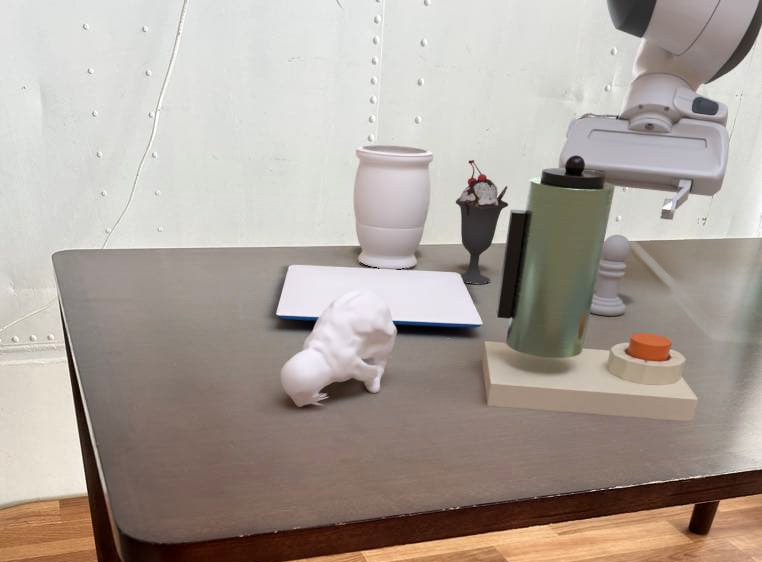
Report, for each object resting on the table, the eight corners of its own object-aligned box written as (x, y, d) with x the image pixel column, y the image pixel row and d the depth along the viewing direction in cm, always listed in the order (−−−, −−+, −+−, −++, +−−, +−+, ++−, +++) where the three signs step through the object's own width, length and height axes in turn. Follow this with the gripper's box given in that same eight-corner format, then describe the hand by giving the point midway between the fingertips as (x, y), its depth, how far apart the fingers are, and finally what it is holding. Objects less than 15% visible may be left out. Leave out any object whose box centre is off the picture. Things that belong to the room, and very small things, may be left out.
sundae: (437, 277, 112) (449, 158, 104) (470, 271, 116) (484, 156, 108) (472, 288, 108) (487, 165, 100) (506, 282, 112) (523, 162, 104)
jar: (434, 262, 120) (444, 150, 112) (408, 276, 112) (417, 156, 104) (368, 252, 124) (374, 142, 116) (338, 265, 115) (342, 148, 108)
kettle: (573, 329, 81) (607, 150, 72) (587, 361, 72) (627, 163, 64) (490, 323, 81) (514, 144, 73) (495, 354, 73) (523, 156, 64)
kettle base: (660, 375, 82) (670, 336, 80) (691, 422, 72) (704, 379, 70) (481, 362, 83) (487, 323, 81) (487, 406, 73) (493, 363, 71)
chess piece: (593, 302, 105) (607, 228, 100) (632, 311, 102) (648, 236, 97) (573, 309, 101) (587, 234, 97) (613, 319, 99) (629, 242, 94)
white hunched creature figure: (404, 291, 71) (312, 333, 64) (402, 382, 76) (317, 430, 69) (348, 277, 74) (255, 315, 67) (350, 365, 79) (263, 409, 72)
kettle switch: (662, 353, 77) (666, 334, 76) (671, 365, 74) (676, 346, 73) (623, 350, 77) (627, 331, 76) (630, 362, 74) (635, 343, 73)
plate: (481, 341, 89) (483, 322, 88) (275, 331, 88) (275, 312, 87) (458, 287, 108) (460, 271, 107) (289, 279, 107) (289, 263, 106)
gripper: (572, 94, 105) (544, 185, 102) (742, 106, 98) (717, 204, 96) (571, 130, 111) (545, 218, 108) (732, 144, 104) (708, 237, 102)
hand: (627, 211), depth 102 cm, fingers open, 8 cm apart
